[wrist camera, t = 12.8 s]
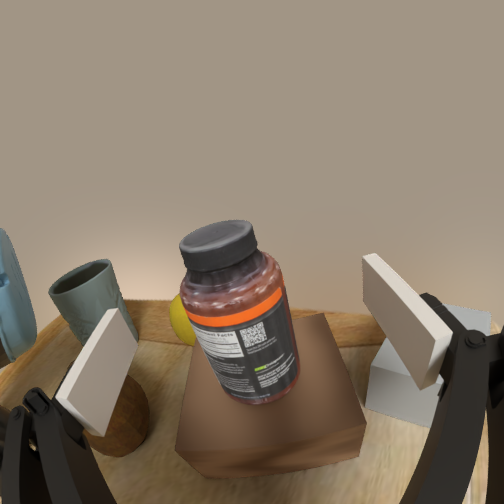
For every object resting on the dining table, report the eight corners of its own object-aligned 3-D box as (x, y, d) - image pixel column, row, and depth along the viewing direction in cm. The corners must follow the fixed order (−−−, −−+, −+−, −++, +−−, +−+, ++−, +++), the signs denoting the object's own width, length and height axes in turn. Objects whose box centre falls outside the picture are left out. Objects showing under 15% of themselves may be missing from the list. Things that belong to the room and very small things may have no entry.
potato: (144, 376, 28) (110, 319, 25) (179, 448, 19) (129, 392, 15) (89, 401, 25) (49, 348, 21) (106, 478, 15) (43, 428, 12)
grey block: (364, 407, 19) (370, 364, 17) (400, 342, 24) (406, 296, 22) (454, 434, 13) (481, 393, 10) (474, 358, 18) (491, 312, 16)
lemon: (176, 353, 32) (150, 301, 28) (200, 327, 36) (180, 277, 33) (210, 364, 29) (185, 308, 26) (234, 334, 33) (215, 279, 30)
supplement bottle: (256, 340, 22) (219, 212, 18) (317, 363, 18) (294, 212, 14) (206, 386, 18) (143, 250, 14) (267, 422, 15) (209, 265, 10)
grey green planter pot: (81, 371, 30) (37, 301, 25) (96, 331, 39) (64, 269, 35) (139, 360, 31) (97, 282, 26) (147, 318, 40) (117, 251, 36)
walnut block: (206, 478, 16) (174, 450, 13) (214, 377, 27) (195, 337, 24) (358, 456, 15) (366, 423, 13) (326, 357, 26) (323, 312, 24)
